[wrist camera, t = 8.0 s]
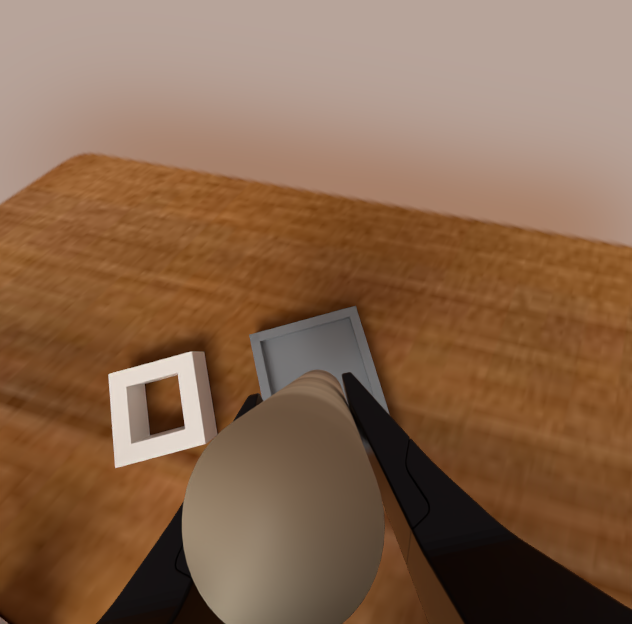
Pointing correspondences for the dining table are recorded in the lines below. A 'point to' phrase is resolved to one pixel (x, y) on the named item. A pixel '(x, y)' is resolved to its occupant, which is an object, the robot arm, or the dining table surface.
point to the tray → (315, 352)
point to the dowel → (285, 511)
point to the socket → (133, 414)
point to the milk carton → (2, 621)
